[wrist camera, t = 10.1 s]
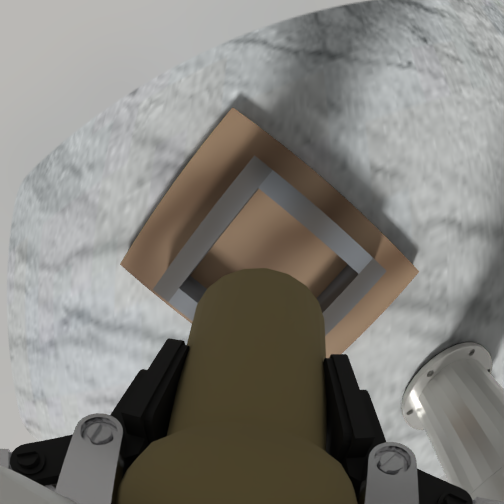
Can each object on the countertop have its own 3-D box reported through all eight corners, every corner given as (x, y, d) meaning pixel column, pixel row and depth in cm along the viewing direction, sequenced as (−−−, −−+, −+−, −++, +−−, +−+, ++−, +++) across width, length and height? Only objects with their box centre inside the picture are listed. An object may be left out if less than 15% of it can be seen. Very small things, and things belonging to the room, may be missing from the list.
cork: (177, 280, 13) (11, 484, 2) (314, 255, 12) (430, 513, 2) (212, 387, 14) (156, 584, 4) (330, 371, 14) (374, 584, 3)
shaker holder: (412, 266, 24) (434, 282, 20) (294, 385, 28) (295, 415, 23) (235, 111, 22) (226, 97, 18) (127, 260, 26) (102, 274, 21)
